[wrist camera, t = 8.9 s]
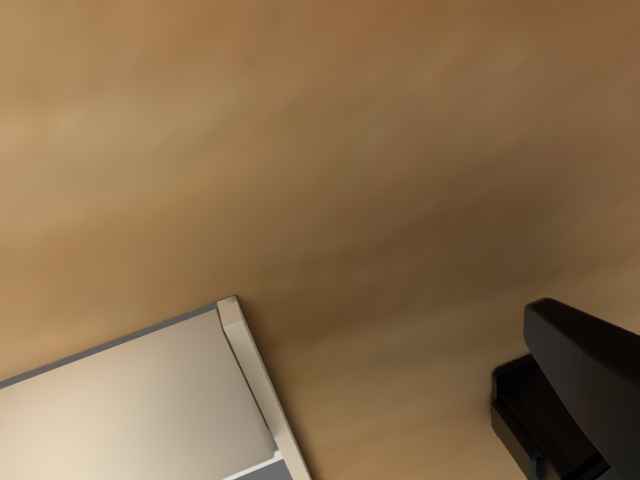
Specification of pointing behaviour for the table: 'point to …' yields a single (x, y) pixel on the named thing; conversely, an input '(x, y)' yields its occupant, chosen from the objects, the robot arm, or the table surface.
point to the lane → (152, 409)
